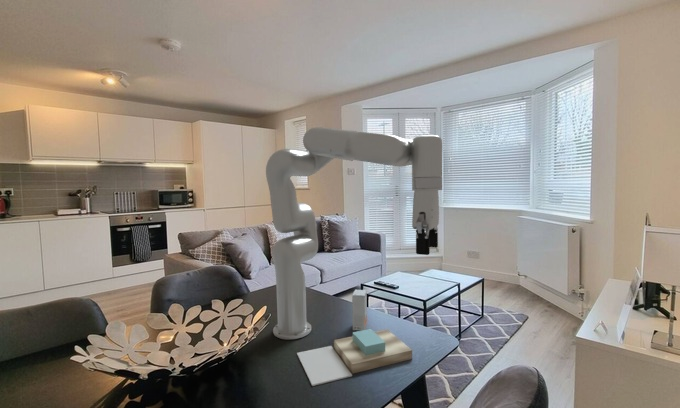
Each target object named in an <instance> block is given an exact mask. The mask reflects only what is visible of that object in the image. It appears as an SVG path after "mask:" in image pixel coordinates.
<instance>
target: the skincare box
mask: <svg viewBox="0 0 680 408" xmlns="http://www.w3.org/2000/svg"><path fill="white" fill-rule="evenodd" d="M367 292H368V291H367V290H366V289H354V291H353V292H352V295H351V297H352V298H351V300H352V301H351V304H352V305H351V306H352V307H351V309H352V314H351V315H352V318H351V319H352V323H351V324H352V331H362V330H366V327H367V324H368V322H367V321H368V318H367V315H368V311H367V307H368V306H367V304H368V303H367V298H368V297H367Z"/></svg>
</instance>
